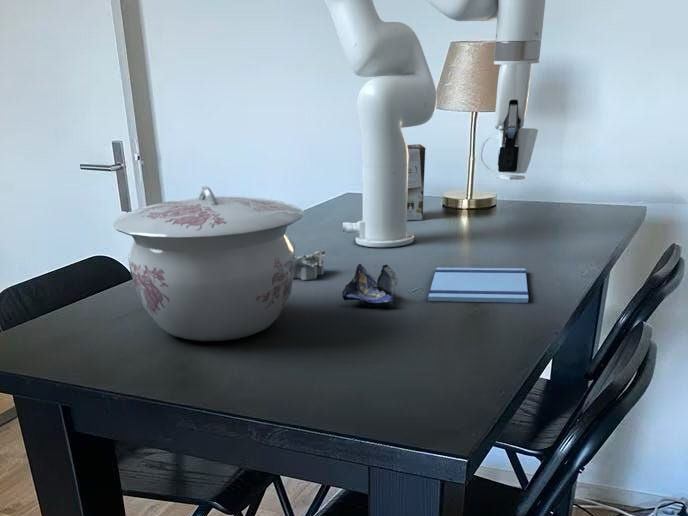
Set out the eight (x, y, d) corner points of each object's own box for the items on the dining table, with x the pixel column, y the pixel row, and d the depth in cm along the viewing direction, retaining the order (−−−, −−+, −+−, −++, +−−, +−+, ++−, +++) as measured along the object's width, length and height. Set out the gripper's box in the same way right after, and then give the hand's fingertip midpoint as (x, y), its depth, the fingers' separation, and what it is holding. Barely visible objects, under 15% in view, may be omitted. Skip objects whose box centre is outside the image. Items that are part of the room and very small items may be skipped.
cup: (527, 181, 139) (533, 130, 136) (472, 178, 143) (476, 129, 140) (536, 177, 145) (542, 128, 141) (483, 175, 149) (487, 127, 145)
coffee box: (423, 220, 192) (426, 147, 184) (397, 221, 193) (398, 148, 184) (419, 213, 200) (421, 143, 192) (393, 214, 200) (395, 144, 192)
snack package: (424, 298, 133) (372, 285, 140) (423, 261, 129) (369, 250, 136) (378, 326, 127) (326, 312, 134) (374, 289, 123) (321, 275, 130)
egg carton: (328, 272, 151) (328, 250, 149) (310, 282, 145) (310, 259, 143) (279, 268, 155) (278, 246, 153) (260, 277, 149) (259, 255, 147)
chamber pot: (239, 370, 106) (225, 206, 96) (91, 342, 119) (65, 195, 109) (342, 314, 126) (340, 175, 116) (206, 296, 139) (193, 168, 129)
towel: (428, 301, 131) (428, 295, 131) (436, 271, 148) (436, 266, 148) (527, 303, 128) (528, 297, 127) (524, 272, 145) (525, 267, 144)
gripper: (494, 54, 142) (485, 163, 151) (494, 55, 127) (485, 176, 137) (537, 52, 141) (526, 162, 150) (543, 54, 126) (530, 176, 135)
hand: (507, 168), depth 143 cm, fingers closed on cup, 6 cm apart
